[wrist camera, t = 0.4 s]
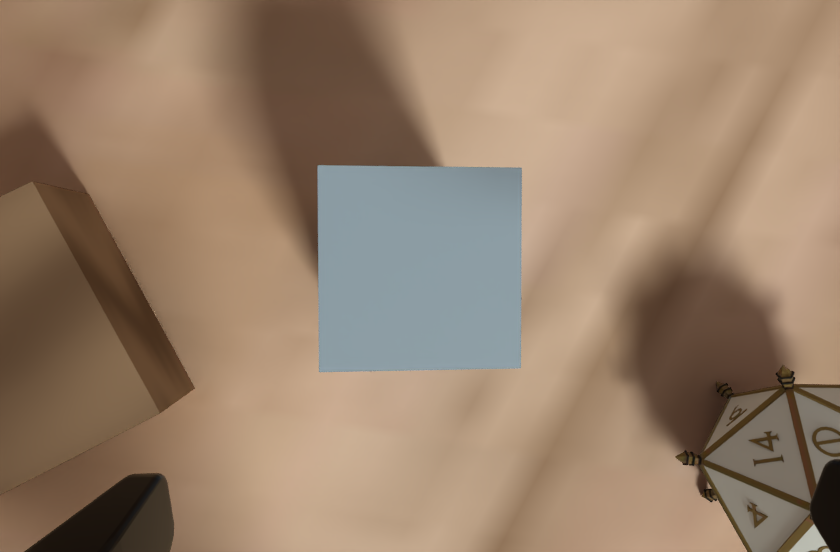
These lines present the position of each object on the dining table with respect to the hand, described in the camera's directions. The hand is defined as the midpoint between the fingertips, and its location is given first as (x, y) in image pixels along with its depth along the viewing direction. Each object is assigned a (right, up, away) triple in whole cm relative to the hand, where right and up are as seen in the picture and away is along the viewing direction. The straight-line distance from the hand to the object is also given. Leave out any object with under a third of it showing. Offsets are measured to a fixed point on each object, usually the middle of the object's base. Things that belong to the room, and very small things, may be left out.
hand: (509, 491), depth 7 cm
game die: (+13, -5, +18) cm, 23 cm away
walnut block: (-17, 0, +15) cm, 23 cm away
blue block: (-2, +3, +16) cm, 17 cm away
